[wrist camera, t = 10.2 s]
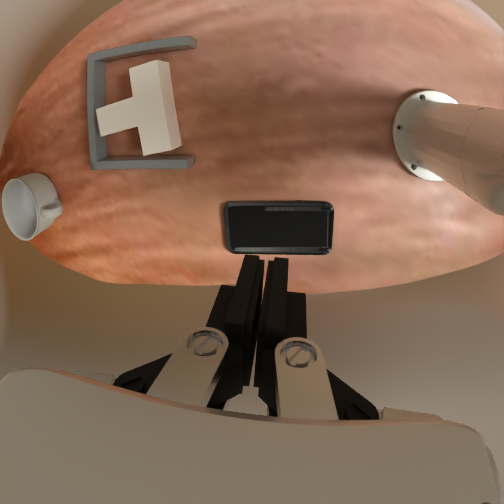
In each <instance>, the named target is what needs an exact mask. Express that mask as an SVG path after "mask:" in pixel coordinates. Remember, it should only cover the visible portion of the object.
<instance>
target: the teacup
mask: <svg viewBox="0 0 504 504" xmlns="http://www.w3.org/2000/svg"><path fill="white" fill-rule="evenodd" d="M2 208H3V214H4V217H5V220H6V222H7V224H8V226H9V228H10V230H11V231H12V232H13V234H14V235H15V236H17V237H18V238H19V239H21V240H25V241H26V240H31V239H32V238H33V237H34V236H36V235H37V234H39V233H40V232H42V231H43V230H45V229H46V228H48V227H49V226H50V225H51V224H52V223H53V222H54V220H55V218H56V217H58V216H60V215H61V214H62V212H63V206H62V203H61V202H60V199H58V194H57V191H56V189H55V187H54V185H53V183H52V182H51V180H50V179H49V178H48V177H46V176H45V175H43V174H40V173H31V174H27V175H24V176H21V177H18V178H13V179H11V180H9V181H8V182H7V183H6V185H5V187H4V189H3V194H2Z"/></svg>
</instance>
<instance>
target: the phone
mask: <svg viewBox="0 0 504 504" xmlns="http://www.w3.org/2000/svg"><path fill="white" fill-rule="evenodd" d="M333 221H334V209H333V206H332V205H331V204H330V203H329V202H322V201H231V202H228V203H227V204H226V205H225V207H224V222H225V232H226V243H227V249H228V250H229V251H230V252H231V253H234V254H285V255H326V254H328V253H329V252H330V251H331V248H332V236H333Z"/></svg>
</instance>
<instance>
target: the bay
mask: <svg viewBox="0 0 504 504" xmlns="http://www.w3.org/2000/svg"><path fill="white" fill-rule="evenodd" d="M193 48H196V40H195V39H193V38H192V37H190V36H184V37H175V38H167V39H160V40H153V41H147V42H141V43H136V44H131V45H126V46H121V47H116V48H112V49H108V50H104V51H100V52H96V53H92V54H88V62H87V116H88V136H89V150H90V161H91V170H104V169H188V168H189V167H191V166H192V165H194V156H123V157H108V154H107V138H106V135H105V136H102V137H101V135H100V130H99V125H98V119H97V113H96V109H98V108H101V107H104V106H105V65H106V61H111V60H116V59H121V58H126V57H131V56H137V55H143V54H149V53H156V52H164V51H172V50H182V49H193Z"/></svg>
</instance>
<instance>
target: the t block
mask: <svg viewBox="0 0 504 504" xmlns="http://www.w3.org/2000/svg"><path fill="white" fill-rule="evenodd" d="M129 74H130V81H131V88H132V94H133V97H131V98H128V99H125V100H121V101H118V102H115V103H112V104H109V105H107V106H104V107H101V108H98V109H96V113H97V119H98V125H99V130H100V135H101V137H102V136H105V135H109V134H113V133H116V132H120V131H123V130H127V129H131V128H134V127H138V130H139V135H140V141H141V146H142V151H143V156H145V155H150V154H155V153H160V152H165V151H170V150H173V149H175V148H177V147H180V146H182V143H181V138H180V132H179V126H178V120H177V114H176V108H175V101H174V95H173V88H172V82H171V75H170V68H169V63H168V62H164V61H161V60H154V61H151V62H147V63H144V64H141V65H138V66H135V67H132V68H129Z"/></svg>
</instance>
